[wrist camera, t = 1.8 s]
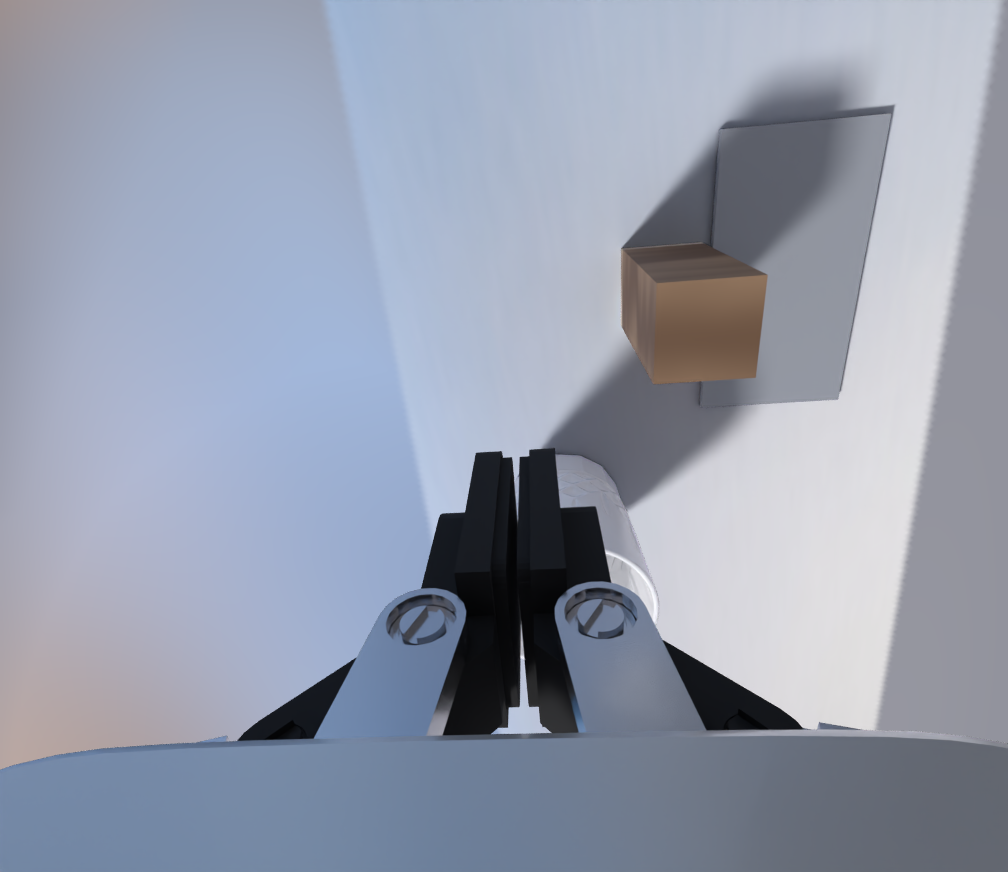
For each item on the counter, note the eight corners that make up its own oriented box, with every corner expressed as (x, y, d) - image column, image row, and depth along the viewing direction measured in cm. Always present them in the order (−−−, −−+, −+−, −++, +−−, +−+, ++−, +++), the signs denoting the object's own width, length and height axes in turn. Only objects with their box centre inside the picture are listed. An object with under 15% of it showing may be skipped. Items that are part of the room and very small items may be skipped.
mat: (719, 129, 27) (722, 129, 26) (886, 114, 26) (891, 113, 26) (699, 404, 33) (701, 407, 32) (834, 396, 32) (838, 399, 32)
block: (621, 248, 29) (656, 283, 21) (701, 241, 29) (767, 274, 21) (620, 325, 31) (653, 384, 23) (695, 319, 31) (755, 377, 22)
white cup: (559, 419, 33) (571, 515, 24) (653, 495, 35) (695, 609, 26) (476, 504, 36) (458, 618, 27) (567, 569, 38) (578, 695, 29)
